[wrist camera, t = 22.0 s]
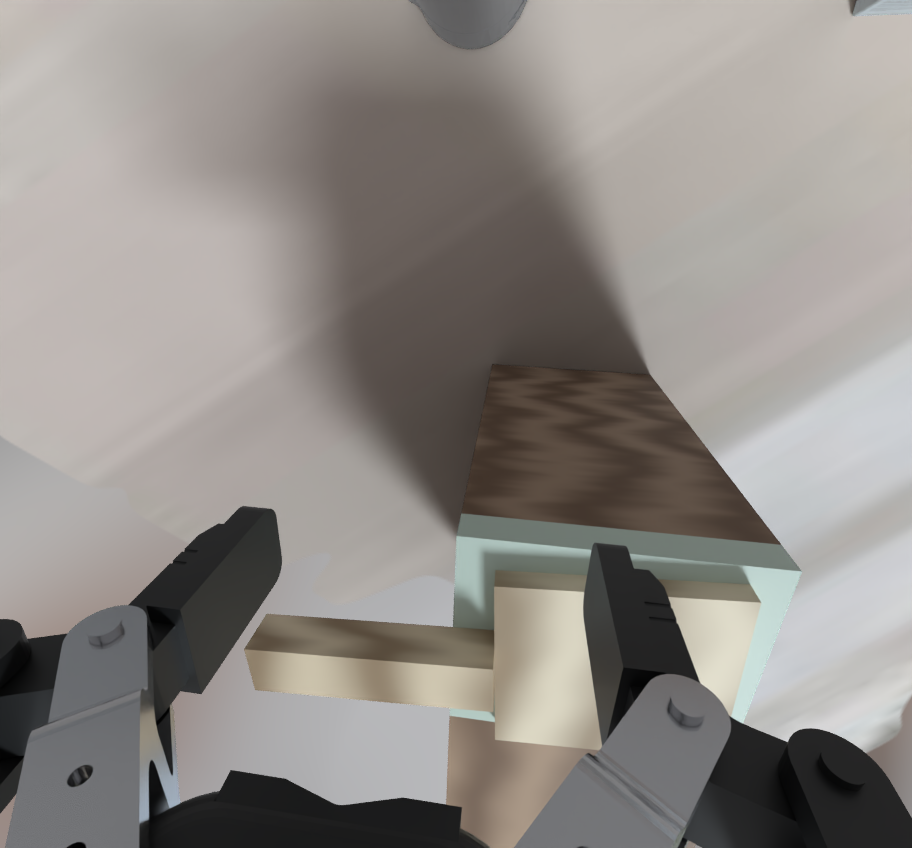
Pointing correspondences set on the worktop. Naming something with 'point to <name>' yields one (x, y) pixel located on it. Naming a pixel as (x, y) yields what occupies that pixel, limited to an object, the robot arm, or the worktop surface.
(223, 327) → the worktop surface
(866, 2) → the supplement box
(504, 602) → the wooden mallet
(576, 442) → the walnut stand
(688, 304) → the worktop surface
